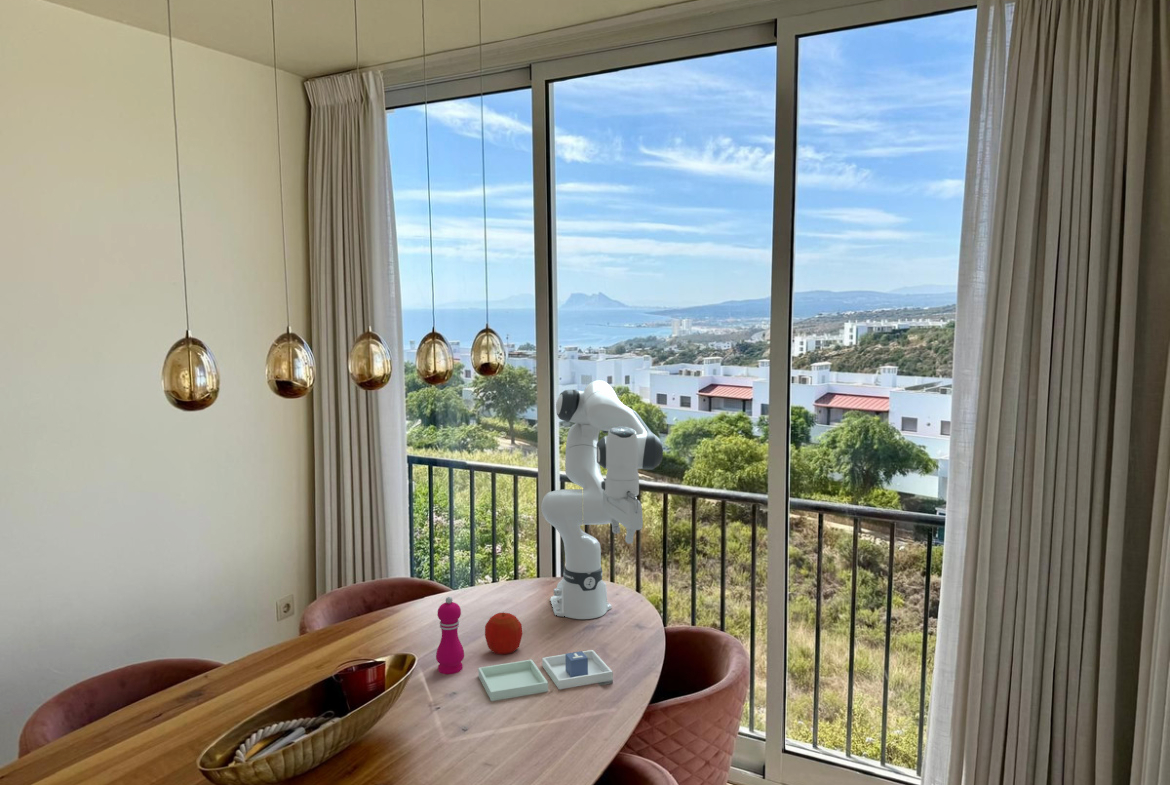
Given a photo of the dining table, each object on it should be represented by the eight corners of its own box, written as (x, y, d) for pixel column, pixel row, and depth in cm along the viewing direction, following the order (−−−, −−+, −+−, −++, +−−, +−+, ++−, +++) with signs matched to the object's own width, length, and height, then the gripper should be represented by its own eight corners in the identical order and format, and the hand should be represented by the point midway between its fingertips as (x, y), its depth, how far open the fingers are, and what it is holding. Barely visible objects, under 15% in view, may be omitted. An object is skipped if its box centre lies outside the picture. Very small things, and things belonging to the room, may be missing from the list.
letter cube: (565, 670, 201) (565, 653, 201) (581, 667, 203) (581, 650, 202) (571, 677, 197) (571, 660, 197) (587, 675, 199) (587, 657, 198)
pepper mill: (458, 679, 199) (457, 602, 197) (432, 676, 200) (430, 600, 198) (468, 666, 206) (467, 593, 204) (442, 664, 207) (441, 591, 205)
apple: (528, 648, 217) (528, 608, 216) (509, 662, 208) (508, 620, 207) (498, 642, 222) (497, 602, 221) (478, 655, 213) (477, 614, 212)
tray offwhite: (542, 668, 204) (542, 657, 204) (592, 660, 209) (592, 649, 209) (559, 692, 191) (559, 680, 191) (612, 683, 196) (612, 671, 195)
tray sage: (478, 679, 198) (478, 667, 198) (532, 670, 203) (531, 659, 203) (491, 704, 185) (491, 692, 185) (548, 694, 190) (548, 682, 190)
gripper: (648, 495, 201) (648, 547, 203) (619, 479, 220) (619, 526, 222) (626, 497, 199) (626, 550, 200) (598, 480, 218) (598, 529, 220)
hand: (622, 537), depth 211 cm, fingers open, 8 cm apart
